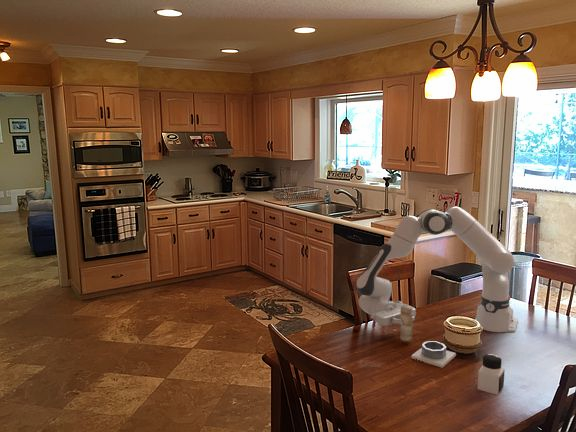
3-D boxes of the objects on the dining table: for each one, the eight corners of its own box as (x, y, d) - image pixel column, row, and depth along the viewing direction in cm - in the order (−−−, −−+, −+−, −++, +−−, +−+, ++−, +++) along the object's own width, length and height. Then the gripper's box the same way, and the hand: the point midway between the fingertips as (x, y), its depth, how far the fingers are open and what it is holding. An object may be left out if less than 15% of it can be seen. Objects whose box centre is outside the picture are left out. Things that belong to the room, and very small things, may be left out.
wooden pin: (403, 335, 211) (404, 305, 209) (414, 338, 208) (414, 307, 206) (398, 339, 208) (398, 308, 205) (408, 342, 204) (409, 310, 202)
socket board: (425, 347, 204) (426, 336, 203) (455, 355, 195) (456, 344, 194) (411, 358, 194) (411, 346, 193) (442, 367, 185) (442, 356, 185)
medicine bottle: (498, 395, 165) (500, 363, 163) (477, 389, 169) (478, 357, 167) (503, 386, 171) (505, 355, 169) (483, 381, 175) (484, 350, 173)
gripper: (368, 309, 212) (389, 319, 200) (402, 300, 222) (425, 309, 210) (368, 322, 213) (389, 333, 201) (402, 313, 223) (424, 322, 211)
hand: (408, 320), depth 206 cm, fingers closed on wooden pin, 5 cm apart
